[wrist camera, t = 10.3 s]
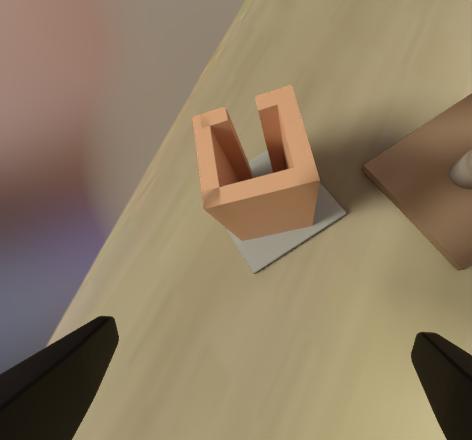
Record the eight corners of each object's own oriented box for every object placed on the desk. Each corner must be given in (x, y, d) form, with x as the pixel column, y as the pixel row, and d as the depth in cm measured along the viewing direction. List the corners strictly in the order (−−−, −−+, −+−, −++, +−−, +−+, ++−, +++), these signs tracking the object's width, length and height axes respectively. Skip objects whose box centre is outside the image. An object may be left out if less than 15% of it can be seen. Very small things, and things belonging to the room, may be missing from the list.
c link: (312, 225, 20) (320, 180, 12) (241, 241, 21) (203, 209, 13) (295, 162, 22) (291, 84, 14) (231, 179, 23) (192, 117, 15)
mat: (345, 214, 20) (346, 213, 20) (254, 273, 21) (253, 273, 20) (283, 141, 24) (282, 138, 23) (205, 194, 24) (203, 192, 24)
